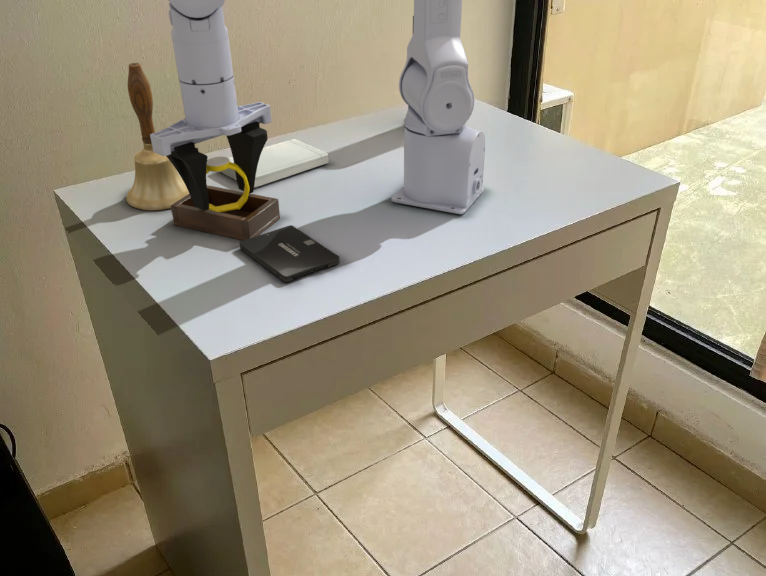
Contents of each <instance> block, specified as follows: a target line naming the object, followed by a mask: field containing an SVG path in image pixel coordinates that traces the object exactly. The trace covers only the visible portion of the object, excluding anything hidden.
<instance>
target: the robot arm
mask: <svg viewBox="0 0 766 576" xmlns="http://www.w3.org/2000/svg"><path fill="white" fill-rule="evenodd" d="M168 1H169V3H168V7H169V9H168V19H169V23H170V25H171V26H172V28H171V32H170V36H171V42H172V48H173V54H174V61H175V66H176V72H177V78H178V82H179V83H178V84H179V88H180V94H181V100H182V107H183V113H184V118H182V119H180V120H178V121H177V122H175V123H172V124H171V125H169V126H167V127H164V128H163V129H161V130H158V131H155V133H152V134H150V137H151V142H152V147H153V152H155V153H157V154H159V155H161V156H163V157H164V156H166V157H167V158H168V159H169V160H170V162H171V163H172V164H173V166H174V167H175V168H176V170H177V172H178V174H179V176H180V177H181V178H182V180H183V181H184V183H185V185H186V187H187V189H188V191H189V194H190V196H191V198H192V201H193V204H194V206H195V207H197V208H199V209H201V210H203V211H205V210H208V209H209V197H208V190H207V185H208V184H207V174H206V166H207V160H208V159H209V157H208V155H207V154H205V153H202V152H200V151H199V147H196V144H200V143H202V142H205V141H209V140H212V139H216V138H219V137H223V136H226V139H227V142H228V145H229V148H230V151H231V157H233V160H234V163H235V164H236V165H238V166H239V167H240V168H241V169H242V170H243V171H244V173H245V175H246V177H247V180H248V184H249V187H250V188H249V189H250V190H249V194H254V190H255V188H254V184H255V177H256V171H257V166H258V162H259V158H260V155H261V152H262V150H263V148H264V147H265V145H266V143H267V141H268V130H266V129H264V128H262V127H260V124H263V125H268V124H270V123H271V124H272V123H273V122H272V111H271V105H270V104H267V103H264V102H261V101H257V102H253V103H248V104H244V105H243V104H242V105H238V99H237V91H236V84H235V83H236V82H235V76H234V75H235V74H234V69H233V68H234V67H233V61H232V59H233V58H232V51H231V45H230V43H231V42H230V37H229V30H228V27H227V26H226V24H225V23H226V22H225V15H224V8H223V6H224V4H225V1H226V0H168ZM462 9H463V0H413V16H414V30H413V29H412V36H411V38H410V40H409V41H408V44H407V47H406V59H405V60H406V61H405V64H404V66H403V69H402V71H401V73H400V76H399V80H398V90H399V94H400V96H401V99H402V101H403V102H404V103H405V104H406V105H407V112H406V115H405V116H404V119H403V127H404V128H403V186H402V187H401V188H400V189H399V190H398V191H397V192H396V193H395V194H394V195H392V196H391V199H390V200H391V202H392V203H398V204H401V205H407V206H413V207H419V208H424V209H428V210H434V211H440V212H445V213H450V214H456V215H464V214H465V213H466V212H467V210H468V209H469V208H470V207H471V206H472V205H473V204H474V203H475V202H476V201H477V199H479V197H480V196H481V195H482V193H483V192H484V191H485V187H484V186H483V184H484V170H485V156H486V137H485V133H484V132H483V131H481V130H479V129H475V128H472V127H470V126H469V125H467V124H466V123H467V122H468V121H469V119H470V117H471V116H472V114H473V111H474V109H475V108H474V107H475V94H474V90H473V88H472V85H471V83H470V80H469V62H468V57H467V54H466V51H465V49H464V45H463V42H462V39H461V32H462V11H463V10H462ZM235 173H236V180H235V181H236V184H237V187H238V190H240V191H241V192H244V187H245V183H244V179H243V177H242V176H241V175H240V174H239V173H238V172H237V171H235Z"/></svg>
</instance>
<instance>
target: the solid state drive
mask: <svg viewBox="0 0 766 576" xmlns="http://www.w3.org/2000/svg"><path fill="white" fill-rule="evenodd" d="M238 244H239V248H240V250H242V251H243V252H244V253H246V254H247V255H248V256H250V257H251V258H252V259H253V260H255V261H256V262H257V263H259V264H260V265H261V266H262V267H264V268H265V269H267V270H268V271H270V272H271V274H273V275H275V276H276V277H277V278H279V279H280V280H281V281H283V282H284V283H289V282H292V281H294V279H296V278H299V277H301V276H304V275H307V274H309V273H313V274H314V273H316V272H317V271H318V270H320V269H323V268H331V267H334V266H335V265H338V264H340V261H341V260H340V256H339V255H338V254H336V253H335V252H333V251H332V250H330V249H329V248H327V247H325V246H324V245H323V244H321V243H320V242H318V241H316V239H314V238H312V237H311V236H309V235H307V234H306V233H304V232H303V231H302V230H300V229H298V228H297V227H296V226H294V225H286V226H284V227H280V228H277V229H274V230H271V231H267V232H265V233H263V234H262V233H261V234H260V235H258V236H256V237H253V238H249V239H246V240H240V241H239V242H238Z"/></svg>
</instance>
